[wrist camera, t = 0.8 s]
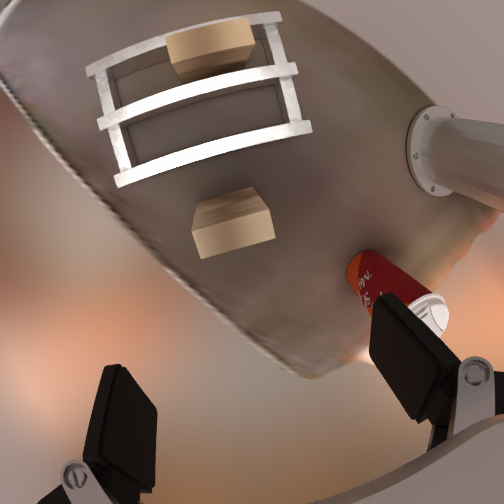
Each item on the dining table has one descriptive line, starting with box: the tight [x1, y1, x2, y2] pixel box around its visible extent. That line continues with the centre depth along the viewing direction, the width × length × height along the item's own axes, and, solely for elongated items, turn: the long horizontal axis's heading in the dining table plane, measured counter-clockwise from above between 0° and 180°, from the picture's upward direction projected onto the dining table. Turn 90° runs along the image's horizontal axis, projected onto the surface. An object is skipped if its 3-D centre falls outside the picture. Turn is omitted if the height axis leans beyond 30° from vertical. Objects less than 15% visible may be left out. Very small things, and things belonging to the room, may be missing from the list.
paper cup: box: [346, 250, 449, 337], centre depth 29 cm, size 8×8×14 cm
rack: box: [85, 11, 313, 188], centre depth 22 cm, size 18×12×5 cm
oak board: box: [165, 18, 255, 85], centre depth 19 cm, size 6×2×9 cm, turn 104°
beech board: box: [191, 187, 276, 259], centre depth 25 cm, size 6×2×9 cm, turn 104°
